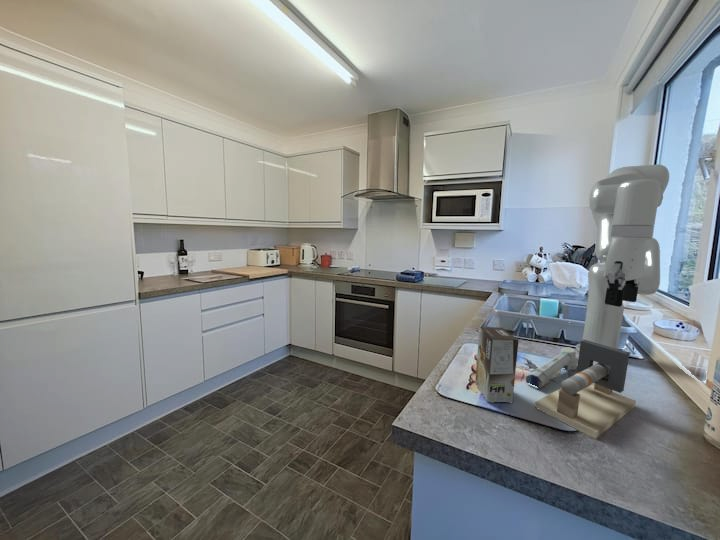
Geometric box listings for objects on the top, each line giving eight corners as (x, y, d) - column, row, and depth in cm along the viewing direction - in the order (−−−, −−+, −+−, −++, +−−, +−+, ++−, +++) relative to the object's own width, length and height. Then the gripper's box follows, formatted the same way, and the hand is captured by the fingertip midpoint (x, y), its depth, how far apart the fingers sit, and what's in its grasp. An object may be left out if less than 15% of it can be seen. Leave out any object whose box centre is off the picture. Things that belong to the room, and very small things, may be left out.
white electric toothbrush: (523, 370, 80) (563, 340, 94) (522, 392, 81) (561, 359, 95) (544, 379, 76) (582, 346, 89) (542, 401, 77) (581, 365, 91)
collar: (579, 374, 77) (584, 339, 76) (623, 390, 69) (629, 352, 68) (576, 376, 76) (580, 341, 75) (620, 393, 68) (626, 354, 67)
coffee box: (513, 404, 71) (520, 340, 69) (486, 402, 71) (492, 339, 69) (497, 384, 80) (502, 327, 78) (473, 383, 80) (478, 326, 78)
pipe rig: (577, 383, 81) (582, 350, 80) (635, 406, 71) (641, 369, 70) (534, 407, 70) (539, 369, 68) (595, 439, 59) (602, 394, 58)
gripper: (625, 233, 79) (615, 296, 81) (596, 232, 70) (587, 303, 72) (664, 234, 72) (652, 302, 75) (638, 233, 64) (626, 311, 66)
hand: (620, 302), depth 74 cm, fingers open, 8 cm apart
